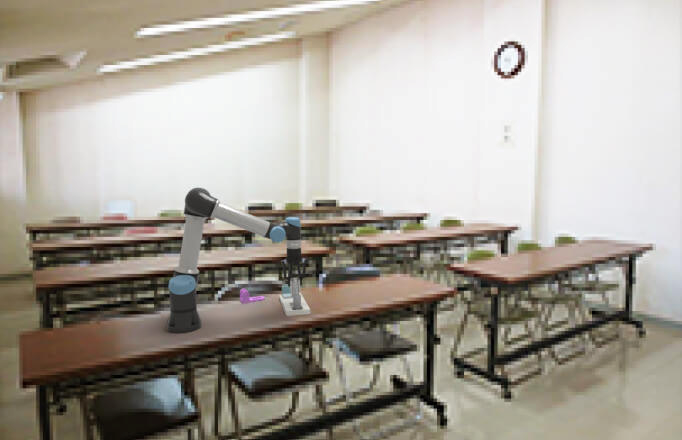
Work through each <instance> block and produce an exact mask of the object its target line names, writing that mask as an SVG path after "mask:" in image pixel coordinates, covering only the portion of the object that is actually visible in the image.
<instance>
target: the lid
mask: <svg viewBox="0 0 682 440" xmlns="http://www.w3.org/2000/svg"><path fill="white" fill-rule="evenodd" d="M299 295H300V294H299ZM281 296H282V298H283V299H285V298H293V297H292V296H291V293H290V286H288V285H282V286H281Z"/></svg>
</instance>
